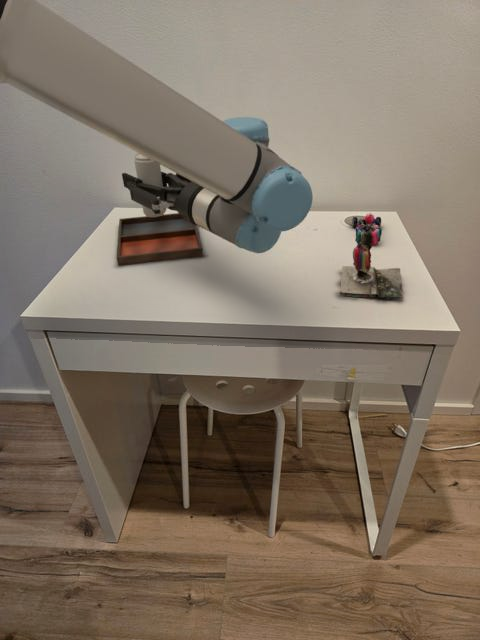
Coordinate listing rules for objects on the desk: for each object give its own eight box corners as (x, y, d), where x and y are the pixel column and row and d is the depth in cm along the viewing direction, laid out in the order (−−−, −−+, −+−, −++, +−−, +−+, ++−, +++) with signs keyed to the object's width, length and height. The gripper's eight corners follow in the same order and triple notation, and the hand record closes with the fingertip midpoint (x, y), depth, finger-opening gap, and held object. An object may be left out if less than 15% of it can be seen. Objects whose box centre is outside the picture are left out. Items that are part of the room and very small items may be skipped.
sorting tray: (118, 265, 92) (116, 257, 91) (120, 225, 108) (119, 218, 106) (203, 256, 94) (202, 248, 93) (193, 218, 110) (192, 211, 109)
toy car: (350, 223, 106) (352, 208, 103) (377, 223, 105) (380, 208, 103) (359, 246, 96) (361, 230, 94) (388, 246, 96) (391, 230, 94)
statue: (340, 301, 82) (339, 227, 73) (342, 274, 89) (342, 204, 80) (402, 301, 79) (409, 225, 70) (399, 274, 86) (405, 201, 77)
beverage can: (169, 209, 93) (161, 151, 86) (162, 218, 89) (153, 159, 82) (147, 208, 94) (138, 151, 87) (140, 217, 90) (129, 158, 83)
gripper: (168, 242, 75) (101, 205, 88) (243, 212, 84) (173, 183, 98) (162, 200, 70) (92, 168, 84) (243, 173, 79) (168, 148, 93)
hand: (136, 176), depth 91 cm, fingers closed on beverage can, 5 cm apart
